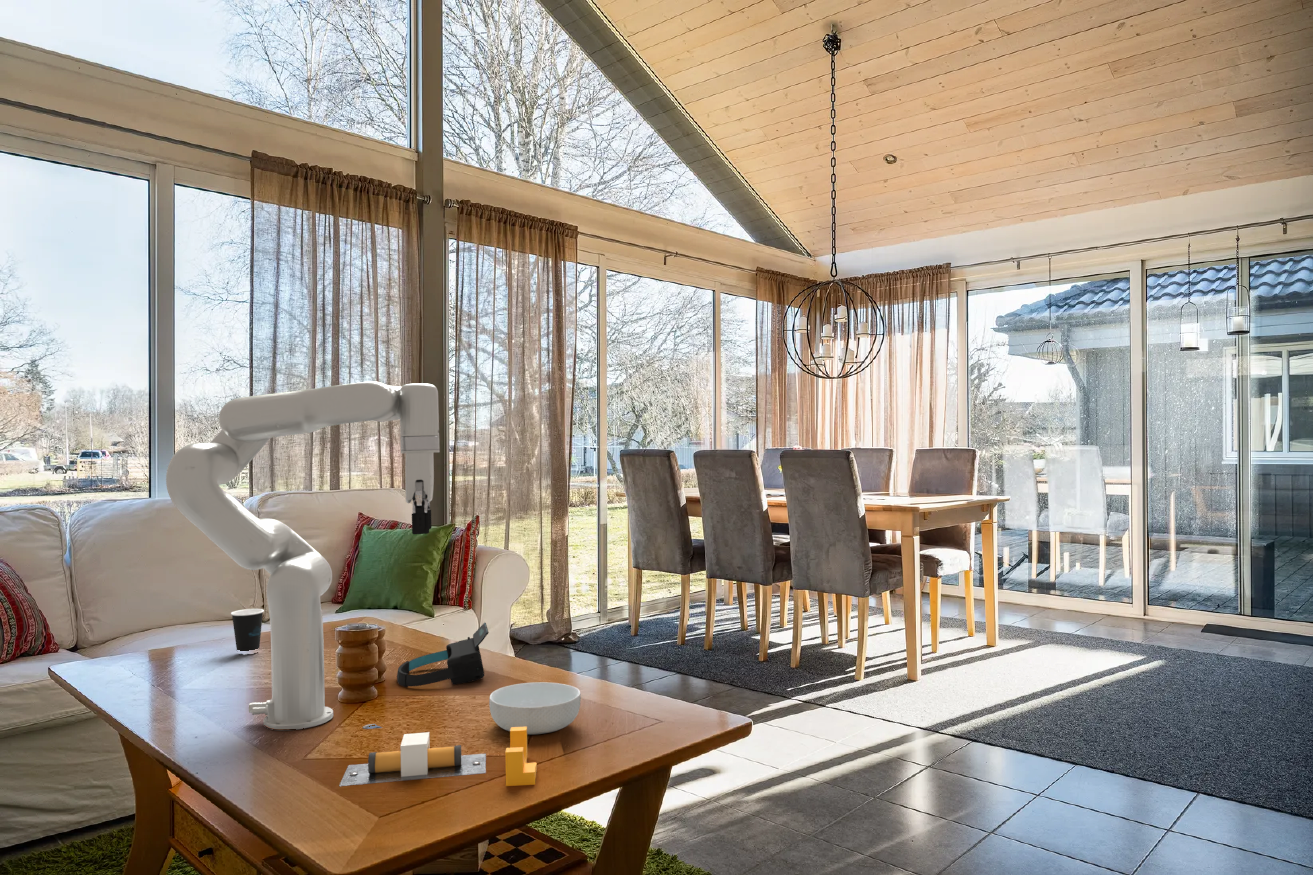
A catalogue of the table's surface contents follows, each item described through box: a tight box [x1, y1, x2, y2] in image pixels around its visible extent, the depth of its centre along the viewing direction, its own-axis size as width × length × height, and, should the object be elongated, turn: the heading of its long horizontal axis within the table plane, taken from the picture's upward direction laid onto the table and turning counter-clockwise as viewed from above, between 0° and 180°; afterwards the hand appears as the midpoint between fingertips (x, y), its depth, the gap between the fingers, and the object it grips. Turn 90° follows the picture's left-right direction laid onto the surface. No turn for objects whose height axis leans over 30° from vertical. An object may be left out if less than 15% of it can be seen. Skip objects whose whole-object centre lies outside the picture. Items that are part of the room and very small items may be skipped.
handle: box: [367, 744, 462, 773], centre depth 141 cm, size 14×3×3 cm, turn 101°
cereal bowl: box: [489, 681, 582, 735], centre depth 162 cm, size 17×17×7 cm
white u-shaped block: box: [400, 731, 431, 777], centre depth 141 cm, size 4×6×5 cm
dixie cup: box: [230, 608, 265, 651], centre depth 232 cm, size 8×8×11 cm
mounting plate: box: [339, 753, 487, 787], centre depth 141 cm, size 22×9×1 cm, turn 101°
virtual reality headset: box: [396, 622, 490, 688], centre depth 203 cm, size 19×22×10 cm
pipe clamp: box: [504, 727, 538, 787], centre depth 139 cm, size 12×4×6 cm, turn 5°
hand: (422, 531), depth 175 cm, fingers open, 9 cm apart
